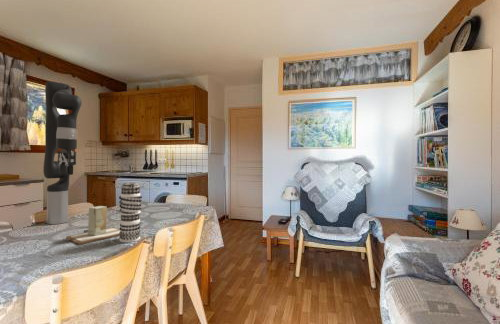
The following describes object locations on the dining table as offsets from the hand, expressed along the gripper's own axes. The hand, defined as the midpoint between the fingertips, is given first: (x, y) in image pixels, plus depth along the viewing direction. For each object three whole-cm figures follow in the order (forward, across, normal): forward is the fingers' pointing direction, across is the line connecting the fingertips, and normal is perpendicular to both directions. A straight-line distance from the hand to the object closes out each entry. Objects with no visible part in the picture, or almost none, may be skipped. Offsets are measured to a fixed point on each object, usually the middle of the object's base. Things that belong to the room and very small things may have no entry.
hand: (66, 174), depth 115 cm
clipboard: (+28, +11, +9) cm, 31 cm away
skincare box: (+27, +11, +9) cm, 31 cm away
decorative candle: (+28, +26, +16) cm, 42 cm away
